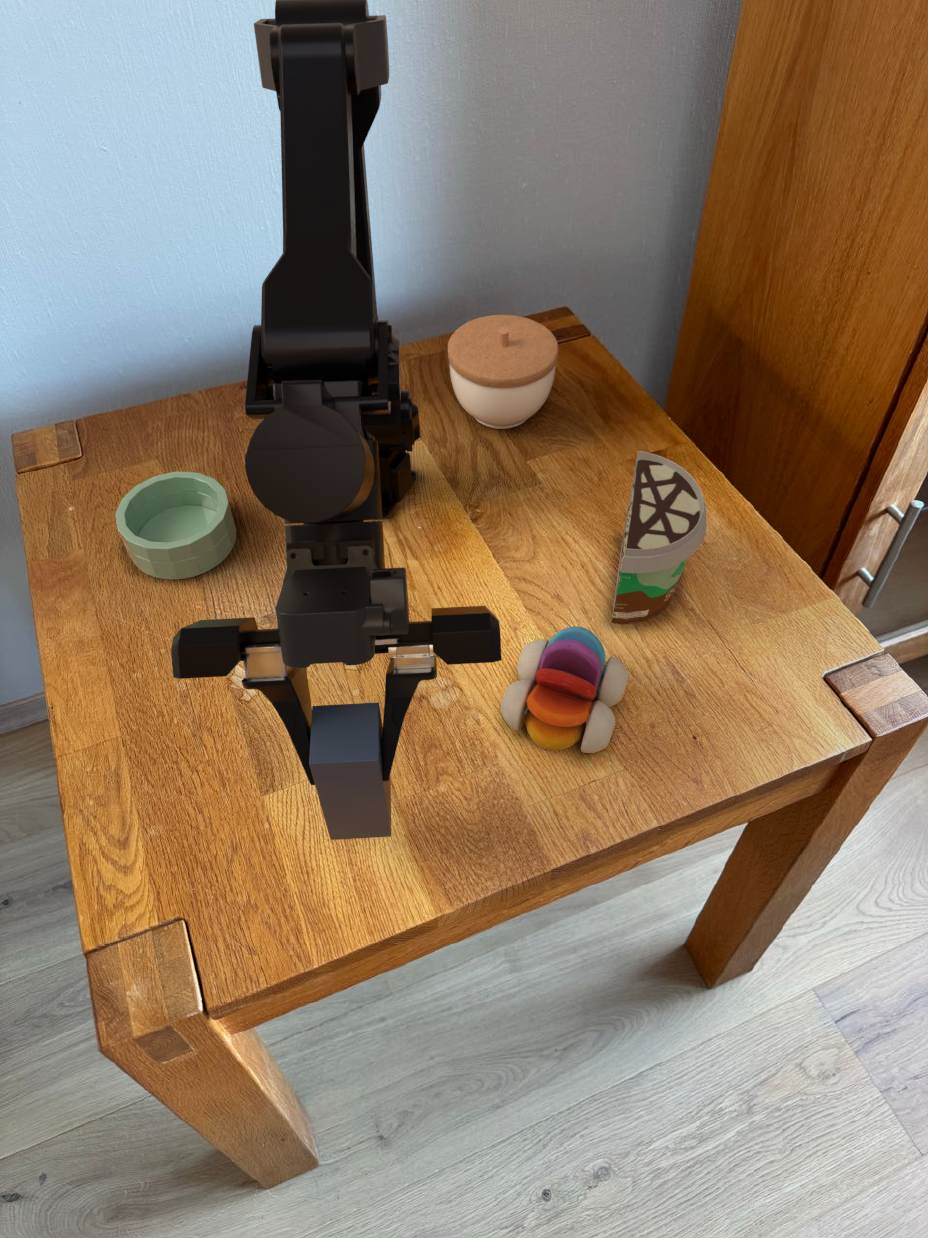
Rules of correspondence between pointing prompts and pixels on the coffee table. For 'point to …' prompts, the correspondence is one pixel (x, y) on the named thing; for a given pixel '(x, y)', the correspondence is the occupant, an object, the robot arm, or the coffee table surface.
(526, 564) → the coffee table surface
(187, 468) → the coffee table surface
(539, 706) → the rainbow wheeled toy
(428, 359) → the coffee table surface
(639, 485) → the food container
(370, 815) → the block
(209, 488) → the bowl
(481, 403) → the trinket box
